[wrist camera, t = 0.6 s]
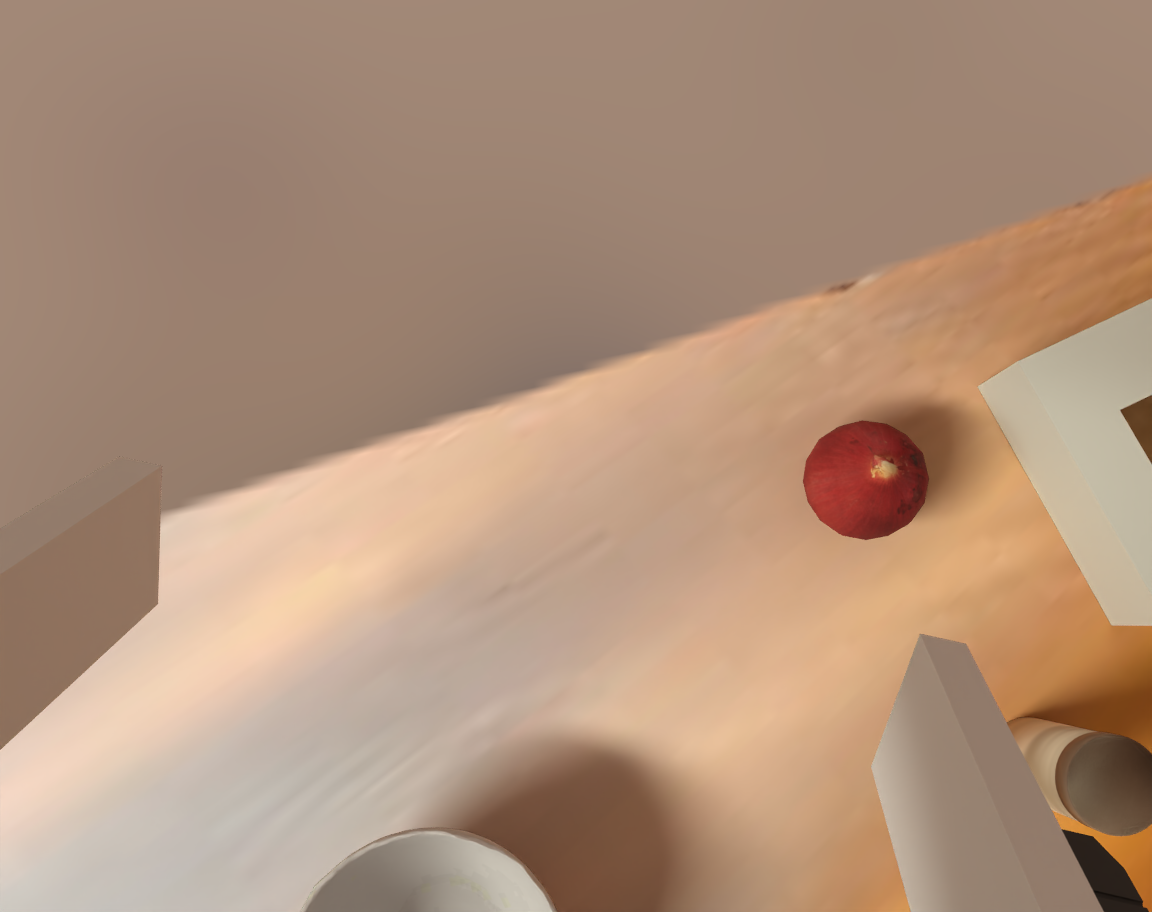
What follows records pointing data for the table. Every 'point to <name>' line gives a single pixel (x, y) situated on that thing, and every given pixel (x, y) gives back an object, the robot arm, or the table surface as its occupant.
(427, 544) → the table surface
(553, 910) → the teacup
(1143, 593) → the hole block
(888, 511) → the onion
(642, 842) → the table surface
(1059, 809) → the medium dowel
